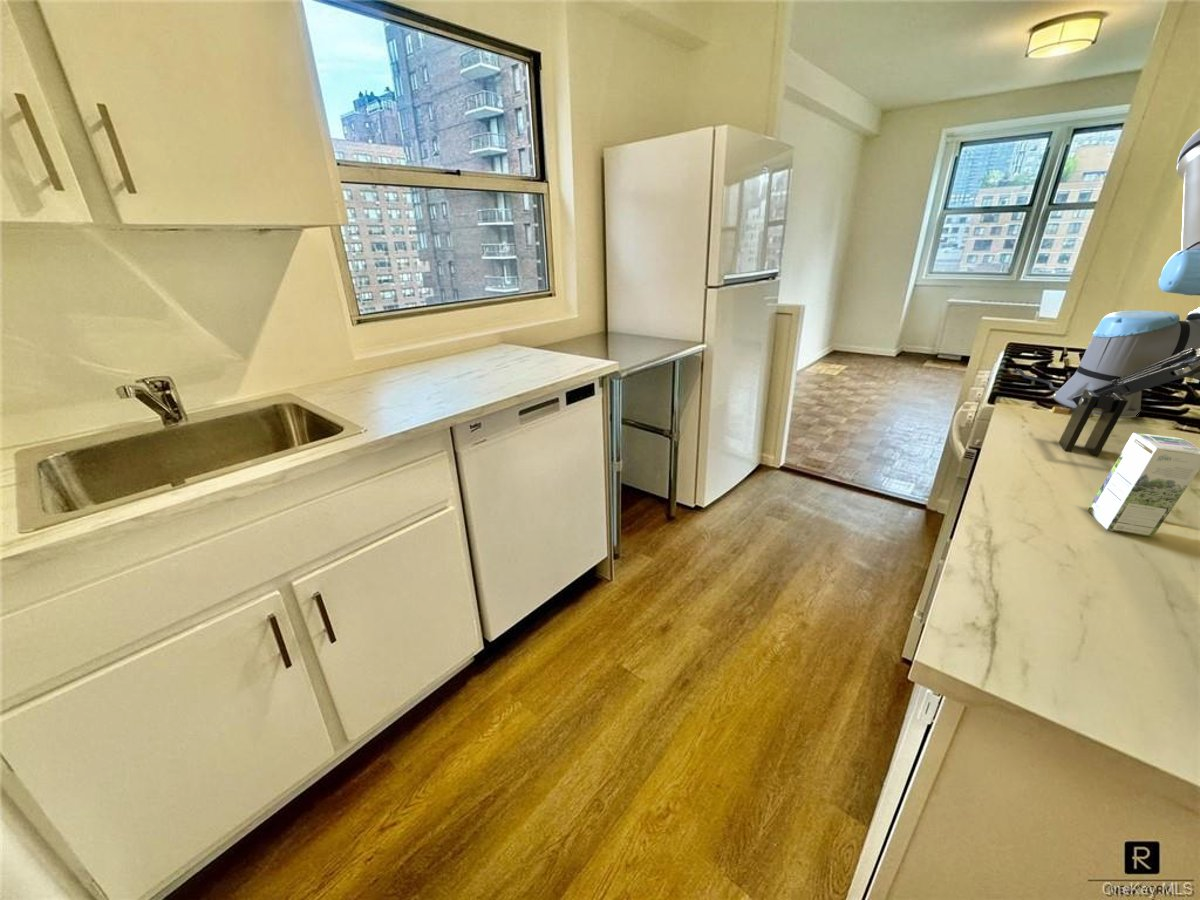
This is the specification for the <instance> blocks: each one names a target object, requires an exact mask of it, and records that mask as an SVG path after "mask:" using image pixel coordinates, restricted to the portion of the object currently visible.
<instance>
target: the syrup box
mask: <svg viewBox="0 0 1200 900" xmlns="http://www.w3.org/2000/svg"><path fill="white" fill-rule="evenodd" d="M1199 471H1200V447H1198V445H1196V444H1194V443H1193V442H1191V441H1189V440H1186V439H1184V438H1182V437H1177V436H1167V435H1157V434H1150V433H1149V434H1148V433H1139V432H1133V433H1131V435H1130V437H1129V439H1128V441H1127V442H1126V443H1125V445H1124V447H1123V449H1122V450H1121V452H1120V454H1119V456H1118V457H1117V460H1116V461H1115V462H1114V464H1113V466H1112V468H1111V469H1110V471H1109V473H1108V474H1107V476H1106V478H1105V480H1104V482H1103V484H1102V485H1101V487H1100V488H1099V490H1098V492H1097V494H1096V495H1095V497H1094V498H1093V500H1092V501H1091V504H1090V507H1088V509H1087V511H1088V513H1089V514H1090V515H1091V516H1092V517H1093V518H1094V519H1095V520H1096V521H1097V522H1098V523H1099V524H1100V525H1101V526H1102V527H1103V528H1104V529H1105V530H1107V531H1111V532H1118V533H1123V534H1130V535H1135V536H1142V537H1147V538H1148V537H1149V538H1153V537H1154V536H1155V535H1156V533H1157V531H1158V530H1159V528H1160V527H1161V526H1162V524H1163V523H1164V521H1165V520H1166V519H1167V517H1168V515H1169V514H1170V513H1171V512H1172V510H1173V509H1174V507H1175V506H1176V504H1177V503H1178V501H1179V500H1180V498H1181V497H1182V495H1183V494H1184V492H1185V491H1186V489H1187V488H1188V487H1189V485H1190V484H1191V482H1192V481H1193V479H1194V478H1195V476H1196V475H1197V473H1198V472H1199Z"/></svg>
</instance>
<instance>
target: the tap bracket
mask: <svg viewBox="0 0 1200 900" xmlns="http://www.w3.org/2000/svg"><path fill="white" fill-rule="evenodd" d="M1110 397H1114V402H1113V405H1112V409H1111V410H1109V411H1105V412H1102V414H1101V415H1099V418H1098V419H1097V421H1096V423H1095V424H1094V427H1093V429H1092V430H1091V432H1090V435H1089V436H1088V439H1087V441H1086V442H1085V444H1084V446H1083V448H1084V449H1085V450H1086V451H1087V453H1088V454H1089V455H1090V456H1091V457H1095V458H1098V457H1099V456H1100V453H1101V452H1102V451H1103V448H1104V446H1105V445H1106V442H1107V441H1108V439H1109V438H1110V435H1111V434H1112V432H1113V430H1114V428H1115V426H1116V424H1117V423H1118V421H1119V419H1120V418H1121V417H1120V415H1121V413H1122V411H1123V409H1124V408H1125V406H1126V404H1127V402H1128V401H1127V400H1126V399H1125V398H1124V397H1123V396H1121V395H1120V394H1119V393H1112V395H1111V396H1110ZM1098 399H1099V397H1098V396H1097V395H1096V394H1095V393H1094V392H1093V391H1092V390H1088V389H1085V390H1084V392H1083V394H1082V396H1081V398H1080V400H1079V402H1078V404H1077V406H1076V408H1075V410H1074V412H1073V414H1072V416H1070V419H1069V420H1068V423H1067V424H1066V427H1065V429H1064V431H1063V433H1062V435H1061V436H1060V439H1059V441H1058V444H1059V446H1060V447H1061V449H1062V450H1063V451H1064V452H1066V453H1072V451H1073V449H1074V448H1075V445H1076V444H1077V441H1078V439H1079V438H1080V436H1081V434H1082V432H1083V430H1084V428H1085V426H1086V424H1087V422H1088V420H1089V419H1090V418H1089V416H1090V414H1091V415H1092V413H1091V412H1092V410H1093V408H1094V406H1095V404H1096V403H1097V401H1098ZM1090 417H1091V416H1090Z"/></svg>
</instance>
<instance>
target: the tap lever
mask: <svg viewBox="0 0 1200 900" xmlns="http://www.w3.org/2000/svg"><path fill="white" fill-rule="evenodd" d="M1098 397H1099V399H1098V401H1097V403H1096V404H1095V406H1094V408H1093V411H1100V412H1105V411H1109V410H1111V409H1112V405H1113V402H1114V397H1108V396H1100V395H1099V396H1098ZM1074 410H1075V408H1069V407H1061V406H1053V407H1052V408H1051V411H1050V412H1051V414H1055V415H1063V416H1069V417H1071V416H1072V414H1073V412H1074ZM1091 417H1092V413H1091V414H1090V416H1089V418H1088V419H1090V418H1091Z"/></svg>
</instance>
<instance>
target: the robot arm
mask: <svg viewBox="0 0 1200 900" xmlns="http://www.w3.org/2000/svg"><path fill="white" fill-rule="evenodd" d="M1176 161H1177V163H1176V172H1177V175H1178V177H1179V178H1180V179H1182V180H1183V194H1182V195H1183V197H1182V199H1183V200H1182V221H1181V222H1182V223H1181V242H1180V243H1181V244H1180V245H1181V246H1180V250H1179V251H1176V252H1175V253H1174V254H1173V255H1171V256H1170V257H1169V259H1168V260H1167V262H1166V263H1165V265H1164V266H1163V268H1162V270H1161V273H1160V276H1159V279H1158V288H1159V289H1160V290H1161V291H1162V292H1164V293H1170V294H1178V295H1184V296H1191V297H1192V296H1199V297H1200V128H1198V129H1197V130H1196V131H1195V132H1194V133H1192V135H1191V136H1190V137H1189V138H1188V140H1187V141H1186V142H1185V144H1184V145H1183V147H1182V148H1181V150H1180V152H1179V155H1178V157H1177V160H1176ZM1180 319H1181V318H1180V314H1179V313H1175V312H1171V311H1161V310H1160V311H1159V310H1123V311H1116V312H1112V313H1109V314H1107V315H1104V317H1103V318H1101V320H1100V322H1099V323H1098V325H1097V327H1096V328H1095V330H1094V331H1093V332H1092V337H1091V339H1090V341H1089V343H1088V345H1087V347H1086V349H1085V352H1084V354H1083V356H1082V357H1081V360H1080V362H1079V365H1078V367H1077V369H1076V371H1075V372H1074V374H1073V375H1072V376H1071V377H1070V378H1069V379H1068V380H1067V381H1066V382H1065V383H1064V384H1063V385H1062V386H1061V387H1055V386H1054V383H1052V382H1051V381H1049V380H1045V379H1042V378H1037V377H1033V376H1030V375H1027V374H1026V373H1025V372H1024V371H1023V370H1022V369H1021V368H1016V369H1013V370H1012V371H1011V372H1012V373H1017V372H1018V373H1019V374H1020V376H1021V377H1022V378H1024V379H1027V380H1030V381H1034V382H1038V383H1043V384H1046V385H1048V387H1049V389H1050V390H1052V391H1056V393H1055V394H1054V395H1053V400H1054V401H1055V402H1057V403H1058V404H1060V405H1062V406H1064V407H1066V408H1069V409H1073V408H1076V406H1077V404H1078V402H1079V400H1080V398H1081V396H1082V394H1083V392H1084V390H1085V389H1088V390H1092V391H1093V392H1094V393H1095V394H1096V395H1097V396H1099V395H1100V396H1108V397H1110V396H1111V395H1112V393H1119V394H1120V395H1121V396H1123V397H1124V398H1125V399H1126V400H1127V401H1128V402H1127V404H1126V406H1125V408H1124V409H1123V411H1122V413H1121V415H1120V417H1119V418H1135V417H1137V416H1138V415H1139V414H1140V412H1141V406H1142V393H1143V392H1142V391H1146V390H1148V389H1151V388H1154V387H1159V386H1160V385H1161V386H1162V385H1164V384H1167V383H1171V382H1173V381H1177V380H1180V379H1185V378H1188V379H1196V380H1200V307H1198V308H1197V309H1194V310H1193V311H1190V312H1188V313H1187V316H1186V317H1185V320H1180ZM1138 413H1139V414H1138ZM1092 414H1093V415H1098V416H1101V414H1102V412H1100V411H1093V410H1092V412H1091V415H1092ZM1137 414H1138V415H1137ZM1136 415H1137V416H1136Z"/></svg>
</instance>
